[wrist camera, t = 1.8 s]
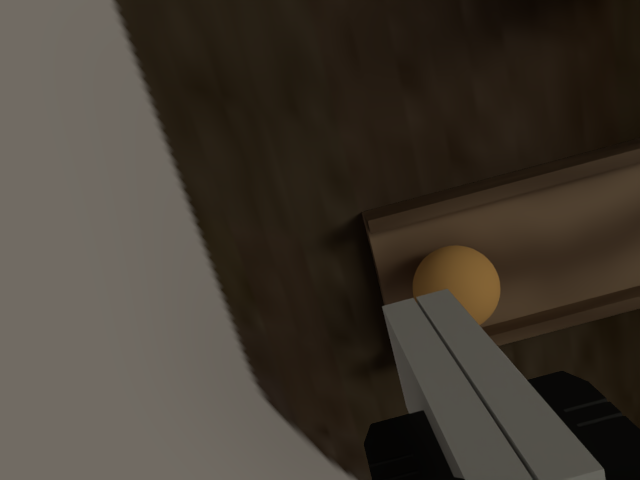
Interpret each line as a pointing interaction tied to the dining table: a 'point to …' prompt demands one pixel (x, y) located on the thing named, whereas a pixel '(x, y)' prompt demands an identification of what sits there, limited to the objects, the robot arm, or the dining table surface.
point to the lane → (529, 240)
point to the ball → (460, 279)
